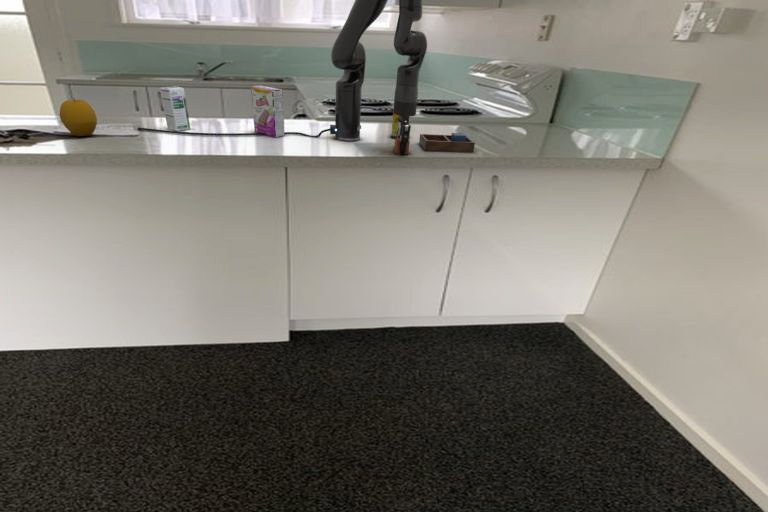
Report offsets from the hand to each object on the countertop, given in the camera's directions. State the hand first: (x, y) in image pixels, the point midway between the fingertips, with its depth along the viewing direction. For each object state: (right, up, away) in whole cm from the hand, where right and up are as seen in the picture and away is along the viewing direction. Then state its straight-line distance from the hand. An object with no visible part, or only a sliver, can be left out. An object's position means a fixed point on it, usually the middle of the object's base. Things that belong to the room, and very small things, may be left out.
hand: (401, 151), depth 145 cm
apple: (-105, +3, -7) cm, 105 cm away
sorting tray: (+17, +4, +10) cm, 20 cm away
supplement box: (0, +11, +22) cm, 24 cm away
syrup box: (-82, +11, +10) cm, 83 cm away
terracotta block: (0, 0, 0) cm, 0 cm away
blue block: (+21, +5, +11) cm, 24 cm away
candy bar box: (-49, +9, +12) cm, 51 cm away
